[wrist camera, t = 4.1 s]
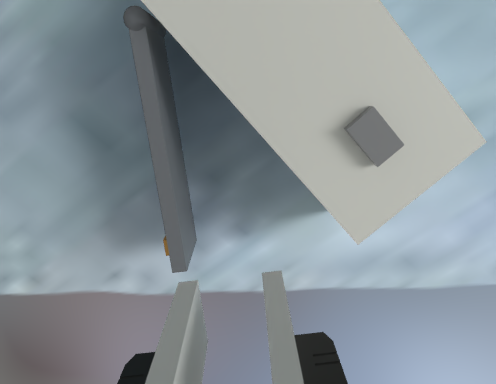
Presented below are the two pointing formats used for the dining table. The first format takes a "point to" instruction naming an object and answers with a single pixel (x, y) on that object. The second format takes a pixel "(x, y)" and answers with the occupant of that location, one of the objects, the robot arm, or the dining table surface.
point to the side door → (163, 134)
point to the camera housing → (331, 97)
